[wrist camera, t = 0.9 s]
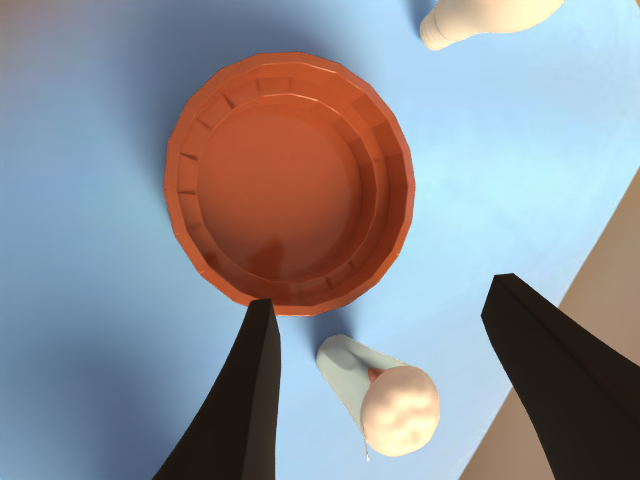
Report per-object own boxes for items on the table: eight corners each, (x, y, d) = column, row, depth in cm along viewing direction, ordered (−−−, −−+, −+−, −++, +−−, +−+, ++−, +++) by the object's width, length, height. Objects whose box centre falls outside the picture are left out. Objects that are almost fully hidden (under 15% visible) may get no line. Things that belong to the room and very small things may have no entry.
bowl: (392, 269, 27) (430, 278, 23) (198, 327, 22) (202, 352, 18) (358, 75, 25) (394, 46, 21) (140, 91, 20) (130, 57, 16)
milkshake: (291, 336, 24) (361, 406, 15) (361, 318, 26) (460, 370, 17) (300, 399, 25) (372, 505, 16) (367, 377, 27) (468, 459, 17)
